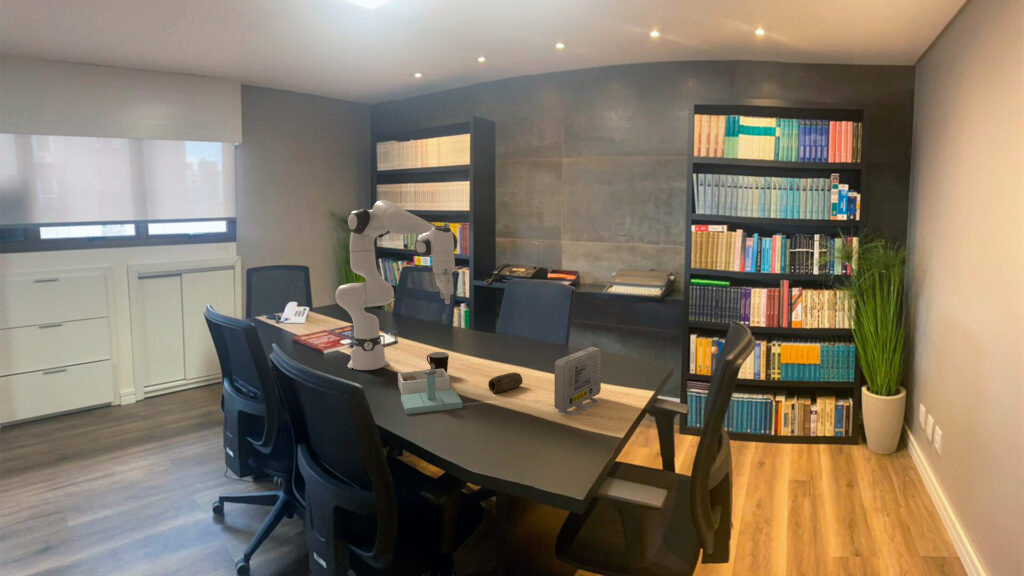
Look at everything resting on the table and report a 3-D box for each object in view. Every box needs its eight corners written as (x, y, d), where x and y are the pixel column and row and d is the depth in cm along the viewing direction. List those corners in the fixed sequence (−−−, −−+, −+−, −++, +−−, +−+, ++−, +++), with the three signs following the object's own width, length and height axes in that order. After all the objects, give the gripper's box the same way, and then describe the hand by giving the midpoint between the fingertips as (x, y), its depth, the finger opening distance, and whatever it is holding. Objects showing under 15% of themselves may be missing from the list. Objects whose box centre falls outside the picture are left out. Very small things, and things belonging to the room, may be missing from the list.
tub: (398, 386, 252) (397, 372, 251) (443, 382, 257) (443, 368, 256) (402, 397, 240) (401, 382, 239) (449, 391, 245) (449, 377, 244)
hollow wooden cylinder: (499, 396, 240) (499, 380, 238) (486, 393, 244) (486, 376, 243) (524, 387, 251) (524, 371, 250) (511, 383, 255) (511, 368, 254)
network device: (587, 394, 241) (587, 345, 237) (606, 399, 235) (607, 348, 232) (549, 413, 221) (549, 359, 218) (569, 418, 216) (569, 364, 212)
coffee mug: (451, 378, 262) (451, 355, 261) (432, 380, 259) (431, 358, 258) (444, 371, 273) (443, 349, 271) (425, 373, 270) (424, 351, 268)
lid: (400, 400, 236) (399, 367, 233) (454, 394, 242) (453, 362, 239) (406, 414, 221) (404, 379, 219) (462, 407, 227) (461, 373, 225)
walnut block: (404, 386, 250) (403, 377, 249) (413, 385, 252) (412, 375, 251) (407, 389, 247) (407, 380, 246) (417, 387, 249) (416, 378, 248)
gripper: (456, 271, 234) (458, 306, 237) (446, 262, 253) (448, 294, 256) (440, 272, 232) (442, 307, 235) (431, 263, 251) (433, 295, 254)
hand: (445, 300), depth 246 cm, fingers open, 8 cm apart
